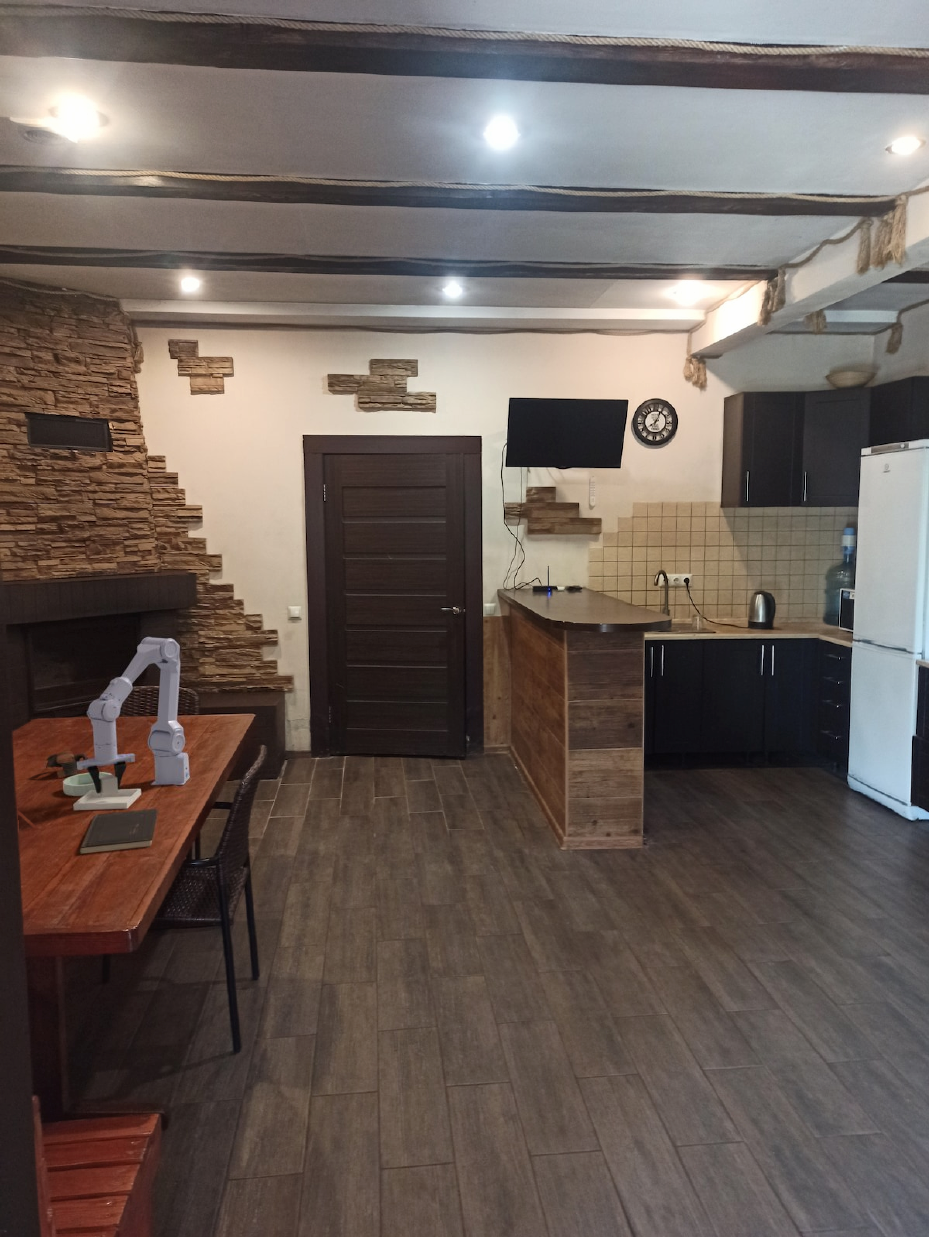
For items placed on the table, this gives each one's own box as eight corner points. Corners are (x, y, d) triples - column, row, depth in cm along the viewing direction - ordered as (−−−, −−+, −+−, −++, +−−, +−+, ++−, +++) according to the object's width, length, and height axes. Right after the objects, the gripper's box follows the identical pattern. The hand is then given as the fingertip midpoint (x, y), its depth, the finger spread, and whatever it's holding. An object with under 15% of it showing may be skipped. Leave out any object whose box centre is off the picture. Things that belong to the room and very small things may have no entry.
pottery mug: (48, 782, 247) (40, 757, 249) (54, 787, 255) (47, 763, 257) (89, 767, 251) (82, 743, 253) (94, 773, 260) (87, 749, 262)
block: (118, 793, 224) (117, 777, 224) (103, 796, 222) (102, 780, 221) (112, 790, 227) (111, 774, 227) (98, 793, 225) (97, 777, 224)
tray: (141, 796, 231) (140, 788, 231) (127, 810, 219) (126, 802, 219) (90, 797, 230) (90, 790, 230) (73, 812, 218) (73, 804, 218)
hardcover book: (158, 816, 216) (158, 808, 216) (152, 848, 194) (152, 839, 194) (93, 823, 212) (93, 814, 211) (79, 856, 190) (79, 846, 189)
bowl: (119, 782, 244) (118, 771, 243) (103, 796, 231) (103, 784, 231) (74, 784, 243) (74, 772, 242) (56, 798, 230) (55, 786, 230)
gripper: (129, 735, 230) (132, 782, 232) (73, 743, 222) (76, 791, 224) (135, 741, 225) (137, 788, 226) (78, 749, 216) (81, 798, 218)
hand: (107, 790), depth 224 cm, fingers closed on block, 4 cm apart
